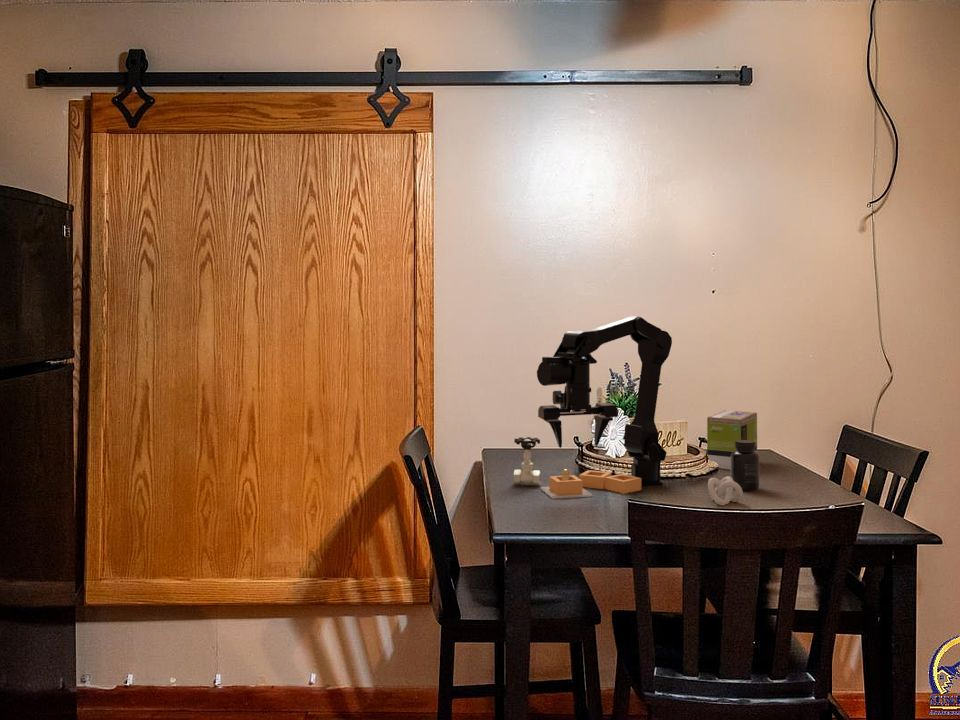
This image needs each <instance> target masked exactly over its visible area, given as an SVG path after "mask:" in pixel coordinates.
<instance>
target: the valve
mask: <svg viewBox="0 0 960 720" xmlns="http://www.w3.org/2000/svg"><path fill="white" fill-rule="evenodd" d="M513 442H514V443H515V444H516V445H520V447H521V448H522V449H523V450H525V452H523V459H524V460H523V462H521V465H520V466H521V468H522V469H514V471H513V483H514V485H523V486H526V487H528V486H529V487H530V486H532V485H534V486H540V485H541V481H542V473H541V471H540V470H538V469H537V470H536V469H535V470H533V468H534V463H533V462H532V460H531V459H532V454H531V453H532V452H530V450H532V449H533V448H535V447H536V444H541V439H540V438H538V437H531V436H526V437H518V438H514V441H513Z"/></svg>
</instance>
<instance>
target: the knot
mask: <svg viewBox="0 0 960 720" xmlns="http://www.w3.org/2000/svg"><path fill="white" fill-rule="evenodd" d="M715 486H716V487H715ZM733 488H734V489H733ZM707 491H708V493H709V496H710V498H711V501H713V500H714V501H713V502H715V503H716V504H717V505H718V504H727V505H728V504H729V503H731V502H730V501H734V502H737V503H739V502H741V501H742V499H743V498H744V491H742V488H741V487H740V485H739V484H737V483H736V482H734V481H733V479H732V478H731V476H729V475H728V476H727V475H726V476H725V477H723V478H721V480H720V479H718V478H716V477H711V478H709V480H708V481H707ZM734 491H735V492H736V494H735V496H734V495H733V493H734ZM721 496H723V499H722V498H721Z"/></svg>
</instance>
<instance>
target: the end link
mask: <svg viewBox="0 0 960 720" xmlns="http://www.w3.org/2000/svg"><path fill="white" fill-rule="evenodd" d="M548 485H549V486H548V487H549V488H550V489H551V490H552V491H554V492H555V493H556V494H571V493H582V488H583V487H582V486H583V481H582V480H581V479H579V477H578V476H576V475H574V474H571V475H570V474H569V480H564V481H562V475H552V476H551V475H550V476H549V484H548Z"/></svg>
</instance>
